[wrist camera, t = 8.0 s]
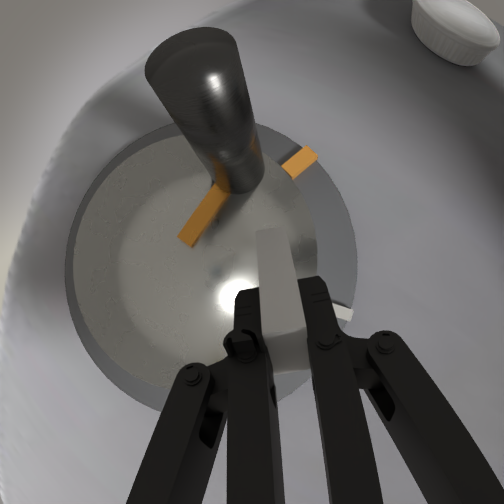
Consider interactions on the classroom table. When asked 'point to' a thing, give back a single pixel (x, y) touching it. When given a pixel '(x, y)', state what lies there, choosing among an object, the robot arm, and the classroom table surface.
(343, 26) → the classroom table surface
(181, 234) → the dial
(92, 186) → the base plate
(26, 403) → the classroom table surface
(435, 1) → the ramekin
